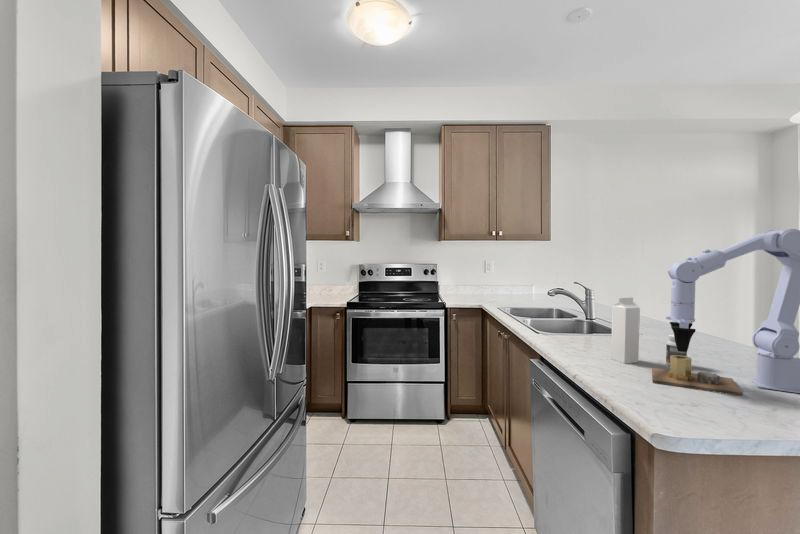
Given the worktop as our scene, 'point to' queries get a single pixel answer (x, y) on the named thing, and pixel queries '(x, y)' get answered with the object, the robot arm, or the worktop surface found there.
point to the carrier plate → (698, 382)
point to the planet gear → (680, 368)
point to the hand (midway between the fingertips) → (681, 348)
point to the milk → (625, 331)
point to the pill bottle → (672, 349)
